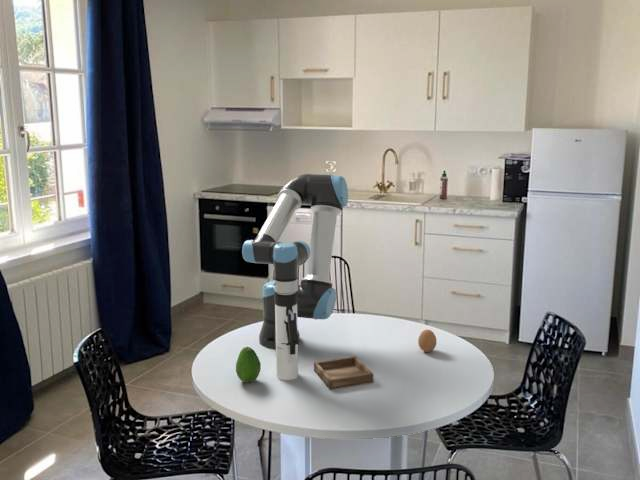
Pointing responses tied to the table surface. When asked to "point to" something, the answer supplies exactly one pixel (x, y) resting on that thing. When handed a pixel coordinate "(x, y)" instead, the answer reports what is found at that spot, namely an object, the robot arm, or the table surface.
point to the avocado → (248, 365)
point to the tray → (343, 372)
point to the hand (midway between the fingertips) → (286, 356)
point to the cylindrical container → (284, 345)
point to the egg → (427, 340)
